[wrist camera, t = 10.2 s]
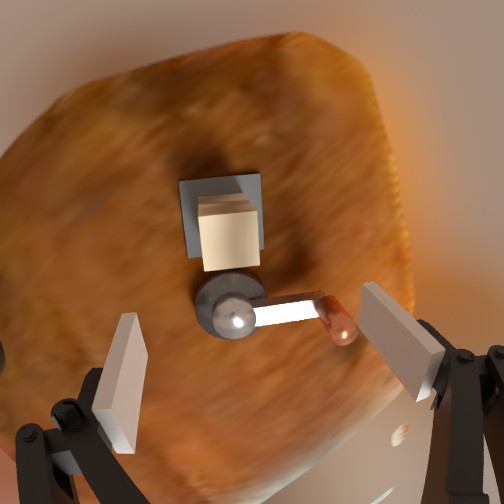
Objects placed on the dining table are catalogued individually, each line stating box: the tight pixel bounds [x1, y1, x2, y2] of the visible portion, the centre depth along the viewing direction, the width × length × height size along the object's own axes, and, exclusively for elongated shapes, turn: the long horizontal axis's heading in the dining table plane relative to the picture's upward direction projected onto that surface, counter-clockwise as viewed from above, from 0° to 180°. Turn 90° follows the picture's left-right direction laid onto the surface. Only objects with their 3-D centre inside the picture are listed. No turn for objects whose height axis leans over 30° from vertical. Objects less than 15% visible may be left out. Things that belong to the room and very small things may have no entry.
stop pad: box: [179, 174, 264, 258], centre depth 37 cm, size 9×9×1 cm
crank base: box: [195, 268, 268, 340], centre depth 40 cm, size 9×9×2 cm
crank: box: [212, 290, 359, 346], centre depth 36 cm, size 15×5×8 cm, turn 94°
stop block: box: [198, 193, 260, 271], centre depth 32 cm, size 5×5×9 cm
